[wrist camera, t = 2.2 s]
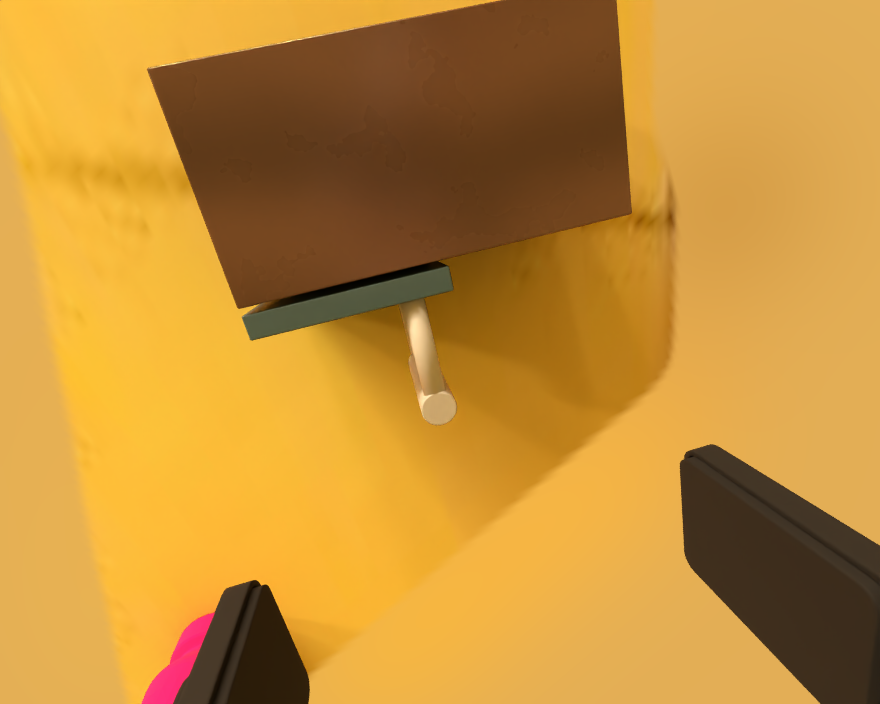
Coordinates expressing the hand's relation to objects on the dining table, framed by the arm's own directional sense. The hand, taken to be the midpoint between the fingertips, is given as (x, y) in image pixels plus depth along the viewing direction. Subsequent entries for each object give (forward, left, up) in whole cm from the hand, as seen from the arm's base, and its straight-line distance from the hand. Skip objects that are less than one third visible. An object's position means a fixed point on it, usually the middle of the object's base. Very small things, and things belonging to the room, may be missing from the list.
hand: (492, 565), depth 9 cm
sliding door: (-2, -2, -19) cm, 19 cm away
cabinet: (-10, +2, -19) cm, 22 cm away
